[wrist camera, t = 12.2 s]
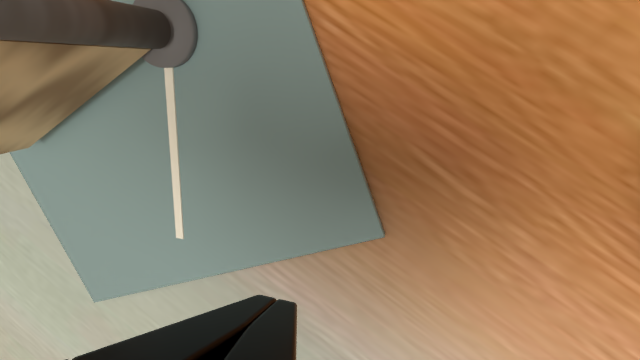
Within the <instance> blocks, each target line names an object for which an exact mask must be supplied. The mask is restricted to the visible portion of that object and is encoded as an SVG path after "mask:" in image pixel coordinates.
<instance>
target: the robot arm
mask: <svg viewBox="0 0 640 360" xmlns="http://www.w3.org/2000/svg"><path fill="white" fill-rule="evenodd" d="M296 336H297V305H296V303H294V302H290V301H285V300H280V299H279V300H276V299H275V298H272V297H268V296H263V295H256V296H253V297H250V298H247V299H245V300H242V301H239V302H236V303H233V304H230V305H227V306H224V307H221V308H218V309H215V310H212V311H209V312H206V313H203V314H201V315H198V316H195V317H192V318H189V319H186V320H183V321H180V322H177V323H174V324H171V325H168V326H165V327H162V328H159V329H157V330H154V331H151V332H148V333H145V334H142V335H139V336H136V337H133V338H130V339H127V340H124V341H121V342H118V343H115V344H113V345H110V346H107V347H104V348H101V349H98V350H95V351H92V352H89V353H86V354H83V355H80V356H77V357H75V358H73V359H72V360H296ZM66 360H68V359H66Z"/></svg>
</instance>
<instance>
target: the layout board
mask: <svg viewBox="0 0 640 360" xmlns="http://www.w3.org/2000/svg"><path fill="white" fill-rule="evenodd" d="M112 1H117V2H121V3H126V4H131V5H136V6H140V7H145V8H150V9H155V10H158V11H160V12H162V13H163V14H164V15H165V16H166V18H167V19H168V21H169V23H170V27H171V37H170V40H169V42H168V44H167V45H166V46H165V47H163V48H160V49H151V50H149V51H148V52H147V53H146V54H145V55H143V56H142V57H141V58H140V59H138V60H137V61H136V62H135V63H133V64H132V65H131V66H130V67H128V68H127V69H126V70H125V71H123V72H122V73H121V74H120V75H118V76H117V77H116V78H115V79H114V80H112V81H111V82H110V83H109V84H107V85H106V86H105V87H104V88H102V89H101V90H100V91H99V92H97V93H96V94H95V95H94V96H92V97H91V98H90V99H89V100H87V101H86V102H85V103H84V104H82V105H81V106H80V107H79V108H78V109H76V110H75V111H74V112H73V113H71V114H70V115H69V116H68V117H66V118H65V119H64V120H63V121H61V122H60V123H59V124H58V125H56V126H55V127H54V128H53V129H51V130H50V131H49V132H48V133H47V134H45V135H44V136H43V137H42V138H40V139H39V140H38V141H37V142H35V143H34V144H33V145H32V146H30V147H29V148H26V149H21V150H17V151H12V152H10V154H11V156H12V158H13V159H14V161H15V163H16V165H17V166H18V168H19V170H20V172H21V173H22V175H23V177H24V179H25V181H26V182H27V184H28V186H29V188H30V189H31V191H32V193H33V195H34V197H35V198H36V200H37V202H38V204H39V205H40V207H41V209H42V211H43V212H44V214H45V216H46V218H47V220H48V221H49V223H50V225H51V227H52V228H53V230H54V232H55V234H56V236H57V237H58V239H59V241H60V243H61V244H62V246H63V248H64V250H65V252H66V253H67V255H68V257H69V259H70V260H71V262H72V264H73V266H74V267H75V269H76V271H77V273H78V275H79V276H80V278H81V280H82V282H83V283H84V285H85V287H86V289H87V291H88V292H89V294H90V296H91V298H92V299H93V301H94V302H98V301H103V300H107V299H112V298H116V297H121V296H125V295H130V294H134V293H138V292H143V291H147V290H152V289H156V288H161V287H165V286H170V285H174V284H179V283H183V282H187V281H192V280H196V279H201V278H205V277H210V276H214V275H219V274H223V273H228V272H232V271H237V270H241V269H245V268H250V267H254V266H259V265H263V264H268V263H272V262H277V261H281V260H286V259H290V258H294V257H299V256H303V255H308V254H312V253H317V252H321V251H326V250H330V249H335V248H339V247H343V246H348V245H352V244H357V243H361V242H366V241H370V240H375V239H379V238H384V237H385V232H384V229H383V226H382V223H381V221H380V218H379V215H378V212H377V209H376V206H375V203H374V201H373V198H372V195H371V192H370V189H369V186H368V183H367V181H366V178H365V175H364V172H363V169H362V166H361V163H360V161H359V158H358V155H357V152H356V149H355V146H354V143H353V141H352V138H351V135H350V132H349V129H348V126H347V123H346V121H345V118H344V115H343V112H342V109H341V106H340V103H339V101H338V98H337V95H336V92H335V89H334V86H333V83H332V81H331V78H330V75H329V72H328V69H327V66H326V63H325V61H324V58H323V55H322V52H321V49H320V46H319V43H318V41H317V38H316V35H315V32H314V29H313V26H312V23H311V21H310V18H309V15H308V12H307V9H306V6H305V3H304V1H303V0H112Z"/></svg>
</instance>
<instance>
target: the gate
mask: <svg viewBox="0 0 640 360" xmlns="http://www.w3.org/2000/svg"><path fill="white" fill-rule="evenodd" d="M170 37H171V27H170V23H169V21H168V19H167V18H166V16H165V15H164V14H163V13H162V12H160V11H158V10H155V9H150V8H145V7H140V6H136V5H131V4H126V3H121V2H117V1H112V0H0V154H3V153H7V152H12V151H17V150H21V149H26V148H29V147H30V146H32V145H33V144H34V143H35V142H37V141H38V140H39V139H40V138H42V137H43V136H44V135H45V134H47V133H48V132H49V131H50V130H51V129H53V128H54V127H55V126H56V125H58V124H59V123H60V122H61V121H63V120H64V119H65V118H66V117H68V116H69V115H70V114H71V113H73V112H74V111H75V110H76V109H78V108H79V107H80V106H81V105H82V104H84V103H85V102H86V101H87V100H89V99H90V98H91V97H92V96H94V95H95V94H96V93H97V92H99V91H100V90H101V89H102V88H104V87H105V86H106V85H107V84H109V83H110V82H111V81H112V80H114V79H115V78H116V77H117V76H118V75H120V74H121V73H122V72H123V71H125V70H126V69H127V68H128V67H130V66H131V65H132V64H133V63H135V62H136V61H137V60H138V59H140V58H141V57H142V56H143V55H145V54H146V53H147V52H148V51H149V50H151V49H160V48H163V47H165V46H166V45H167V44H168V42H169V40H170Z"/></svg>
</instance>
